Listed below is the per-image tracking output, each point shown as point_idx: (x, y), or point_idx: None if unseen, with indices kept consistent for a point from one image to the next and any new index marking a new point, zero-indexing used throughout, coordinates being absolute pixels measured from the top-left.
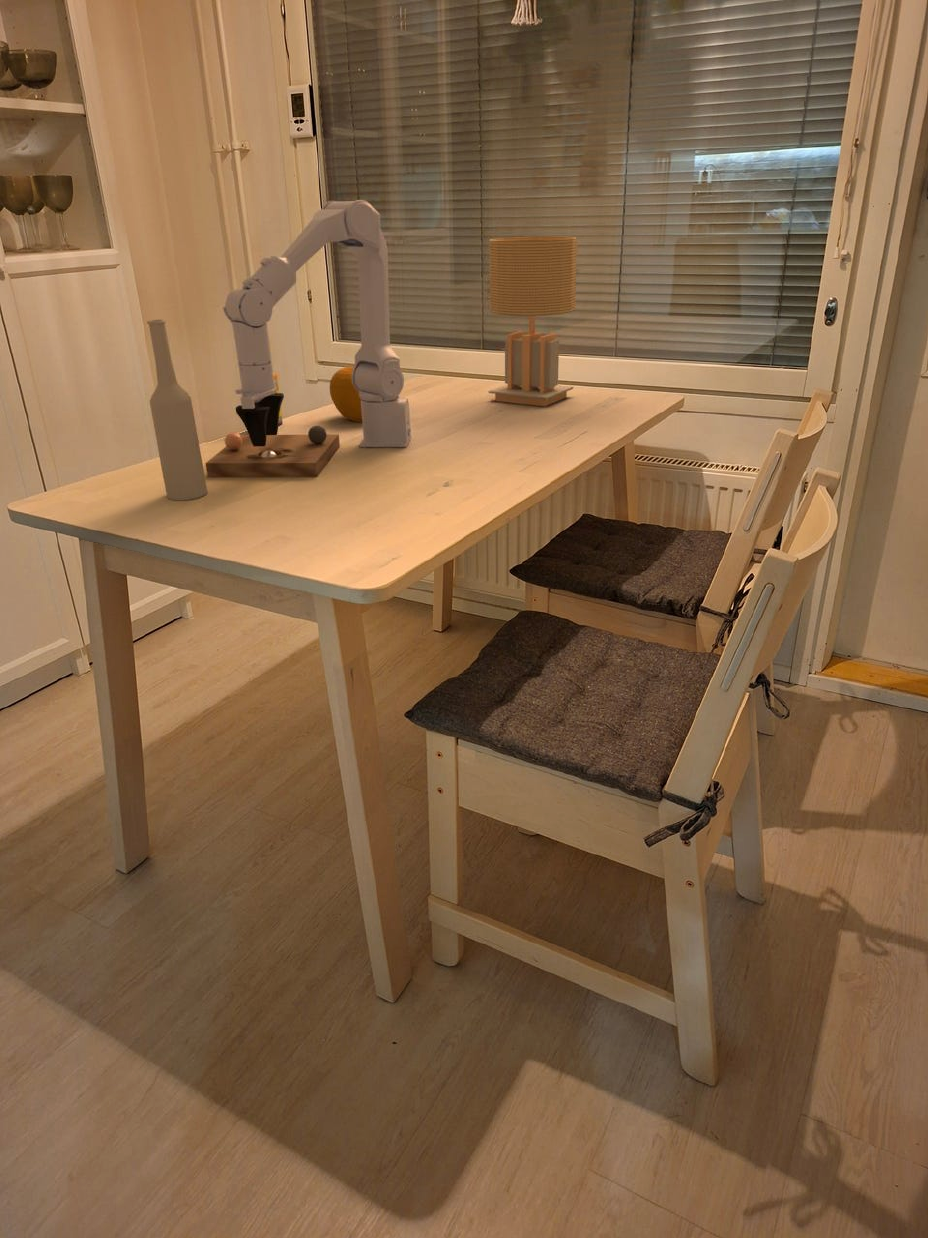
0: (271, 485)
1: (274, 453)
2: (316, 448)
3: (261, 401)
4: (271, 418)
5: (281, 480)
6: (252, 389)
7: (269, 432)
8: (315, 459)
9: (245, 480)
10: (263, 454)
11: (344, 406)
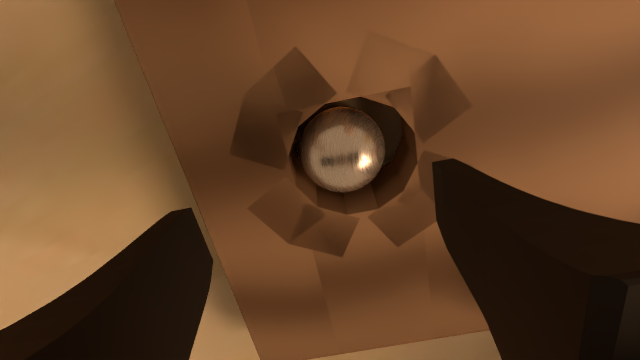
0: (125, 240)
1: (346, 190)
2: (461, 302)
3: (559, 340)
4: (477, 274)
5: None
6: None
7: (439, 194)
8: (305, 351)
9: (136, 117)
10: (317, 149)
11: None
